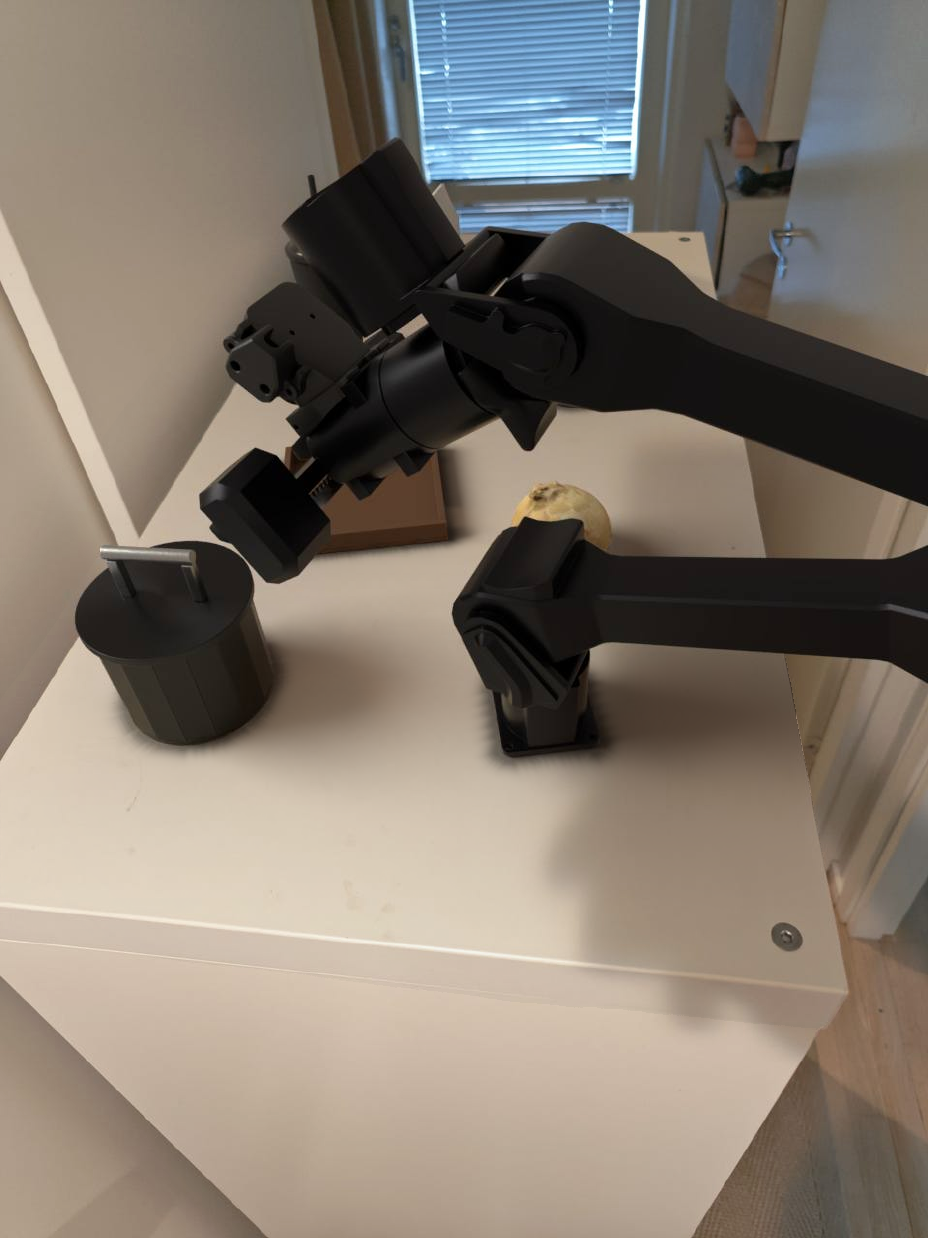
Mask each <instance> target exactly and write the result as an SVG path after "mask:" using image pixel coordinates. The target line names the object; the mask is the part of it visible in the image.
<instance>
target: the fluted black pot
mask: <svg viewBox="0 0 928 1238" xmlns="http://www.w3.org/2000/svg"><path fill="white" fill-rule="evenodd" d="M269 648H270V647H269V646H268V642H267V639H266V636H265V633H264V630H263V626H262V623H261V620H260V617H259V613H258V611H257V607H256V604H255V601H254V599H253V601H252V604H251V607H250V609H249V611H248V612H247V614H246V616H245V617H244V618H243V620H242V621H241V622H240V624H239V625H238V626H237V627H236V628H235V629H234V630H233V631H232V632H231V633H230V634H228V635H227V636H226V637H225V638H224V639H222V640H221V641H219V642H218V643H216V644H215V645H213V646H211V647H210V648H208V649H206V650H204V651H202V652H200V653H198V654H196V655H193V656H191V657H188V658H185V659H182V660H179V661H176V662H172V663H168V664H162V665H156V666H144V667H139V666H125V665H119V664H115V663H111V662H108V661H106V660H103V659H101V658H99V660H100V662H101V664H102V666H103V667H104V669H105V672H106V673H107V675H108V677H109V679H110V681H111V683H112V685H113V687H114V688H115V691H116V693H117V694H118V697H119V698H120V700H121V702H122V704H123V706H124V708H125V710H126V712H127V713H128V715H129V716H130V718H131V720H132V722H133V723H134V725H135V727H136V728H137V729H138V730H139V731H140V732H141V733H142V734H143V735H145V736H147V737H148V738H149V739H152V740H154V741H157V742H159V743H163V744H167V745H173V746H192V745H193V746H194V745H199V744H205V743H208V742H213V741H216V740H218V739H221V738H223V737H225V736H226V737H227V736H228V735H230V734H233V733H234V732H235V731H237V730H239V729H240V728H242V727H243V726H245V725H246V724H248V723H249V722H250V721H251V720H252V719H253V718H254V717H255V716H257V714H259V712H260V711H261V710H262V709H263V707H264V706H265V705H266V703H267V702H268V700H269V697H270V695H271V693H272V691H273V688H274V683H275V670H274V666H273V660H272V655H271V652H270V649H269Z"/></svg>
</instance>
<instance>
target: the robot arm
mask: <svg viewBox="0 0 928 1238" xmlns="http://www.w3.org/2000/svg"><path fill="white" fill-rule="evenodd" d="M432 194H433V192H432V191H431V190H430V188H429V187H428V185H427V183H426V182H425V180H424V178H423V176H422V174H421V171H420V168H419V166H418V163H417V162H416V160H415V158H414V156H413V155H412V153H411V152H410V150H409V149H408V147H407V145H406V143H405V142H404V141H403V140H402V138H400V137H396V136H394V137H392V138H391V139H390V140H388V141H386V142H385V143H383V144H382V145H381V146H379V147H377V148H375V149H374V150H373V151H372V152H371V153H369V155H368V156H367V157H365V158H364V159H363V160H362V161H361V162H360V163H358V164H357V165H356V166H354V167H353V168H352V169H351V170H349V171H348V172H347V173H345V174H344V175H343V176H341V177H339V178H338V179H337V180H335V181H333V182H332V183H330V184H328V185H327V186H326V187H324V188H322V189H321V190H319V191H317V193H316V194H315V195H313V196H312V197H311V196H310V197H309V198H307V199H306V200H305V201H304V202H302V203H301V204H300V205H299V206H298V207H297V208H296V209H294V211H293V212H292V213H291V214H290V215H289V216H287V218H286V219H285V220H284V221H283V222H282V224H281V225H280V227H281V229H282V230H283V231H284V233H285V234H286V235H287V237H288V238H289V240H291V241H292V242H293V243H294V245H295V246H296V248H297V249H298V250H299V252H300V253H301V254H302V256H303V257H304V258H305V260H306V261H307V263H308V264H309V265H310V267H311V268H312V269H313V271H314V272H315V273H316V275H317V276H318V278H319V279H320V280H321V282H322V283H323V284H324V286H325V287H326V288H327V290H328V291H329V293H330V294H331V295H332V297H333V298H334V299H335V301H336V302H337V303H338V305H339V306H340V308H341V309H342V310H343V312H344V313H345V314H346V316H347V317H348V319H349V320H350V321H351V323H352V324H353V325H354V327H355V328H356V329H357V330H359V332H360V333H361V334H362V336H363V339H365V340H363V341H362V340H361V339H360V338H359V337H358V336H357V335H356V334H355V333H354V331H353V329H352V328H351V326H350V325H349V324H348V323H347V322H346V321H344V320H343V319H342V318H341V317H339V316H338V315H337V314H336V313H335V312H333V311H332V310H331V309H330V308H328V307H327V306H326V305H325V304H323V303H322V302H321V301H320V300H319V299H317V298H316V297H315V296H314V295H312V294H311V293H310V292H309V291H307V290H306V289H305V288H304V287H302V286H300V285H299V284H296V282H292V281H283V282H280V283H279V284H277V286H275V287H274V288H272V289H271V290H270V291H268V292H267V293H266V294H264V295H263V296H262V297H260V298H259V299H258V300H255V302H253V303H252V304H250V305H249V306H248V307H247V309H246V311H245V313H244V317H243V319H242V321H241V322H240V323H239V324H237V325H236V329H235V331H233V332H231V333H230V334H229V335H228V336H226V337H225V338H224V339H223V341H222V345H223V348H224V350H225V351H226V352H227V353H228V357H227V358H226V359H227V360H226V362H225V371H226V372H227V373H228V377H229V378H230V380H232V381H234V382H235V383H236V384H237V385H238V386H240V387H241V388H243V389H244V390H245V391H246V392H248V393H249V394H250V395H251V396H253V397H254V398H255V399H257V400H258V401H259V402H261V403H263V404H264V403H265V404H271V403H272V402H273V401H274V400H275V399H277V398H280V399H282V400H283V401H284V402H287V403H288V404H290V405H293V406H298V407H297V408H295V409H294V410H293V411H292V412H291V413H290V414H288V415H287V417H285V419H284V420H285V421H286V422H287V423H288V424H289V425H290V427H292V429H293V430H294V432H296V435H298V436H299V437H298V438H297V439H296V440H295V442H294V443H293V444H292V445H291V446H290V447H291V450H292V451H293V453H294V454H295V455H296V456H297V457H298V459H300V460H308V461H307V462H306V463H305V464H304V465H303V466H302V467H301V468H300V469H299V470H298V471H297V472H296V473H295V475H293V474H292V473H291V472H290V471H289V469H288V468H287V467H286V466H285V465H284V461H283V460H282V459H281V458H280V457H279V456H278V455H277V454H275V453H273V452H269V451H266V450H264V449H261V448H259V447H254V448H251V449H250V450H249V451H247V452H245V454H243V455H241V456H240V457H239V458H238V459H237V460H236V461H234V462H233V463H232V464H230V465H229V466H228V467H226V469H224V471H223V472H221V473H220V474H219V475H218V476H217V477H216V478H215V479H214V480H213V481H212V482H211V483H209V484H208V486H206V487H205V488H204V489H202V491H201V492H200V493H198V501H199V510H200V511H201V512H202V513H203V514H204V516H206V518H207V519H208V520H209V521H210V522H211V524H210V525H209V528H208V529H209V530H210V532H211V533H212V534H213V535H214V536H215V537H216V538H217V540H218V541H220V542H223V543H226V544H229V545H232V546H233V548H234V549H235V550H236V551H237V552H238V554H239V555H240V556H241V557H242V558H243V559H244V560H245V561H246V563H247V564H248V565H250V566H251V568H252V569H253V570H254V571H255V572H256V573H257V575H259V577H261V579H262V580H263V581H264V582H265V583H266V584H272V585H273V584H274V585H280V584H283V583H286V582H287V581H290V580H292V579H294V578H297V577H299V576H300V575H301V574H302V572H304V570H305V569H306V568H307V566H308V565H310V563H311V562H312V561H313V560H314V558H315V557H316V556H317V555H318V552H319V551H320V550H321V549H322V548H323V547H324V545H325V544H326V543H327V542H328V541H329V540H330V538H331V520H330V519H329V518H328V516H327V515H326V514H325V513H324V512H323V510H322V509H323V507H324V506H325V505H326V504H327V503H328V502H329V501H330V500H331V499H332V497H333V496H334V495H335V494H336V493H337V492H338V491H339V490H340V489H341V487H342V486H343V485H344V484H346V485H347V486H348V487H349V489H350V490H351V491H352V492H353V494H354V495H355V496H356V497H357V499H358V500H359V501H360V500H362V499H364V498H366V497H368V496H370V495H371V494H372V493H373V492H374V491H375V490H376V488H377V487H378V486H379V485H380V484H381V483H382V481H383V480H384V479H385V478H386V477H387V476H388V475H390V474H392V473H394V472H396V471H398V470H400V469H402V471H403V472H404V473H405V475H406V476H407V477H409V476H411V475H413V474H415V473H417V472H419V471H421V469H422V468H423V467H424V466H425V464H426V463H427V462H428V461H429V459H430V458H431V457H432V456H433V454H434V453H435V452H436V451H437V452H438V451H439V450H442V449H443V448H445V447H447V446H448V445H450V444H452V443H454V442H456V441H458V440H460V439H463V438H464V437H466V436H468V435H470V434H472V433H474V432H476V431H478V430H481V428H482V429H483V428H484V427H487V426H488V425H490V424H492V423H494V422H496V421H498V420H501V421H502V422H503V424H504V425H505V427H506V428H507V430H508V432H510V434H511V436H512V437H513V438H514V440H515V441H516V443H517V444H518V446H519V447H520V448H521V449H522V450H523V451H524V452H532V451H534V449H535V448H536V447H537V445H538V444H539V442H540V441H541V440H542V437H543V436H544V435H545V433H546V432H547V430H548V429H549V428H550V426H551V424H552V423H553V421H554V420H555V418H556V417H557V416H558V415H557V414H558V405H557V403H559V404H563V405H568V406H573V407H572V408H578V409H581V410H582V409H583V410H588V411H592V412H597V413H602V414H603V413H607V414H608V413H621V412H634V411H646V410H647V411H648V410H654V411H661V412H666V413H670V414H676V415H681V416H684V417H687V418H689V419H693V420H694V421H695V420H696V421H697V422H700V423H703V424H705V425H708V426H710V427H713V428H716V429H719V430H721V431H724V432H727V433H730V434H732V435H735V436H738V437H740V438H743V439H745V440H748V441H751V442H754V443H756V444H759V445H762V446H765V447H767V448H770V449H772V450H775V451H777V452H781V453H782V454H783V453H784V454H785V455H788V456H791V457H793V458H797V459H799V460H802V461H805V462H807V463H810V464H813V465H815V466H818V467H821V468H823V469H826V470H829V471H831V472H834V473H837V474H839V475H842V476H845V477H848V478H850V479H853V480H855V481H858V482H860V483H864V484H866V485H869V486H871V487H875V488H876V489H879V490H882V491H885V492H888V493H890V494H893V495H896V496H898V497H901V498H904V499H906V500H909V501H912V502H914V503H917V504H920V505H923V506H925V507H928V375H926V374H923V373H920V372H917V371H914V370H912V369H909V368H907V367H904V366H900V365H897V364H895V363H892V362H888V361H885V360H882V359H880V358H878V357H874V356H871V355H869V354H865V353H862V352H860V351H857V350H854V349H851V348H848V347H845V346H843V345H840V344H837V343H834V342H831V341H829V340H825V339H822V338H819V337H817V336H813V335H811V334H809V333H806V332H802V331H800V330H796V329H794V328H790V327H788V326H785V325H782V324H779V323H776V322H773V321H770V320H767V319H766V318H765V319H764V318H762V317H759V316H757V315H756V316H755V315H753V314H750V313H748V312H745V311H742V310H738V309H736V308H733V307H730V306H729V305H726V304H724V303H723V302H721V301H719V300H717V299H715V298H713V297H712V296H710V295H708V294H707V293H705V292H704V291H702V290H701V288H700V287H698V286H697V285H696V284H695V283H694V282H693V281H692V280H691V279H690V278H689V277H688V276H687V275H686V274H685V273H684V272H683V271H682V270H681V269H680V268H679V267H678V266H677V265H675V263H673V262H672V261H671V260H670V259H668V258H666V257H665V256H664V255H661V254H659V253H658V252H656V251H654V250H652V249H650V248H649V247H647V246H645V245H643V244H642V243H640V242H637V241H636V240H634V239H632V238H631V237H629V236H627V235H625V234H623V233H621V232H620V231H618V230H616V229H614V228H612V227H610V226H607V225H606V224H602V223H597V222H589V221H577V222H576V221H575V222H571V223H569V224H567V225H566V226H563V227H561V228H560V229H558V230H556V231H554V232H552V233H546V232H539V231H532V230H523V229H517V228H516V229H515V228H508V227H500V226H493V225H487V226H485V227H484V228H483V229H481V230H480V231H479V232H478V233H477V234H476V235H475V236H474V237H473V238H472V239H470V240H469V241H468V242H466V243H465V242H464V241H463V240H462V238H461V235H460V236H459V235H458V233H457V232H456V230H455V229H454V227H453V226H452V224H451V223H450V221H449V219H448V218H447V216H446V215H445V213H444V212H443V210H442V209H441V207H440V206H439V204H438V202H437V201H436V199H435V198H434V196H433V195H432ZM496 290H497V291H496ZM495 291H496V292H495ZM493 293H494V294H493ZM420 315H422V317H423V318H424V319H425V321H426V322H427V323H426V324H424V325H423V326H421V327H420V328H418V329H417V330H415V331H413V332H412V333H410V334H409V335H407V336H406V337H405V335H404V334H403V333H402V332H399V330H400V329H402V328H403V327H405V326H407V325H408V324H409V323H411V322H412V321H413V320H415V319H416V318H417V317H419V316H420ZM366 338H367V339H366ZM326 475H327V476H326ZM325 476H326V478H325V479H323V478H324V477H325ZM322 479H323V480H322ZM321 480H322V481H323V482H321V483H319V482H320V481H321ZM318 483H319V486H317V485H318ZM316 486H317V487H316ZM315 487H316V488H315ZM314 488H315V490H314V491H312V490H313V489H314ZM311 491H312V492H311ZM310 492H311V493H312V494H310V495H309V493H310ZM451 618H452V621H453V625H454V627H455V629H456V630H457V632H458V634H459V636H460V638H461V640H462V643H463V645H464V647H465V649H466V651H467V652H468V655H469V657H470V659H471V661H472V663H473V665H474V667H475V669H476V671H477V673H478V675H479V678H480V679H481V681H482V683H483V685H484V687H485V689H487V690H489V691H491V694H492V700H493V706H494V712H495V717H496V723H497V731H498V737H499V742H500V749H501V753H502V754H503V755H504V756H506V757H515V756H524V755H525V756H526V755H532V754H533V755H534V754H541V753H542V754H543V753H549V752H550V753H551V752H552V753H553V752H560V751H569V750H578V749H586V748H587V749H588V748H593V747H597V746H598V745H599V744H600V741H601V740H600V739H601V737H600V736H601V735H600V731H599V729H598V728H599V727H598V725H597V721H596V717H595V714H594V710H593V705H592V703H591V702H592V701H591V698H590V695H589V692H588V691H589V690H588V689H589V678H590V677H589V676H590V665H591V664H590V663H591V649H593V648H596V647H598V646H601V645H604V644H612V643H616V644H631V645H647V646H661V647H662V646H663V647H675V648H678V647H679V648H689V649H690V648H693V649H704V650H705V649H708V650H719V651H721V650H722V651H737V652H739V651H740V652H752V653H764V654H765V653H767V654H780V655H781V654H783V655H796V656H797V655H798V656H810V657H824V658H825V657H826V658H841V659H856V660H857V659H858V660H873V661H880V662H887V663H889V664H892V665H894V666H895V667H898V668H899V669H900V670H902V671H904V672H906V673H908V674H910V675H912V676H913V677H915V678H917V679H918V680H920V681H922V682H924V683H926V684H928V544H926V545H924V546H922V547H919V548H917V549H914V550H911V551H910V552H907V553H904V554H903V555H900V556H896V557H891V558H827V557H826V558H824V557H823V558H819V557H816V558H815V557H813V558H812V557H746V556H744V557H743V556H742V557H740V556H739V557H734V556H666V555H665V556H664V555H663V556H659V555H658V556H657V555H656V556H655V555H617V554H611V553H609V552H608V551H607V550H606V551H605V550H603V549H601V548H600V547H598V546H596V545H595V544H593V543H592V542H590V541H588V540H587V539H585V532H584V522H583V521H582V520H579V519H575V518H569V519H564V520H558V521H541V520H536V519H533V518H530V517H527V516H524V517H523V518H522V520H521V522H520V523H519V525H518V526H514V527H511V526H509V527H507V528H505V529H502V531H501V532H500V533H499V534H498V535H497V536H496V537H495V539H494V540H493V542H492V543H491V544H490V546H489V547H488V549H487V550H486V552H485V554H484V555H483V556H482V558H481V560H480V562H479V563H478V565H477V566H476V568H475V569H474V570H473V572H472V574H471V575H470V577H469V579H468V580H467V582H466V583H465V585H464V586H463V588H462V590H461V591H460V592H459V594H458V596H457V597H456V599H455V601H454V602H453V603H452V609H451ZM591 738H592V739H591ZM508 748H510V749H508Z"/></svg>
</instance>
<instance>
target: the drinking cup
mask: <svg viewBox="0 0 928 1238" xmlns="http://www.w3.org/2000/svg"><path fill="white" fill-rule="evenodd" d="M307 183H308V189H309V195H310V197H312V196H313V195H315V194H316V193H318V188H317V183H316V177H315V175H314V174H308V175H307ZM283 249H284V255H285V257H286V258H287V259H288V260H289V264H290V267H291V271H292V273H293V278H294V280H295V283H296V284H299V285H300V286H302V287H304V288H305V289H306V290H307V291H309V292H310V293H311V294H312V295H314V296H315V297H316V298H317V299H319V300H320V301H321V302H322V303H323V304H325V305H326V306H327V307H328V308H330V309H331V310H332V311H333V312H335V313H336V314H337V315H338V316H339V317H341V318H342V319H343V320H344V321H346V322H347V323H348V324H349V325H350V326H351V328H352V329H353V331H354V333H355V334H356V335H357V336H358V337H359V338H360V339H361V340H362V341H363V342H364V337H363V336H362V334H361V333H360V332H359V330H357V329H356V328H355V327H354V325H353V324H352V323H351V321H350V320H349V319H348V317H347V316H346V314H345V313H344V312H343V310H342V309H341V308H340V306H339V305H338V303H337V302H336V301H335V299H334V298H333V297H332V295H331V294H330V293H329V291H328V290H327V288H326V287H325V286H324V284H323V283H322V282H321V280H320V279H319V278H318V276H317V275H316V273H315V272H314V271H313V269H312V268H311V267H310V265H309V264H308V263H307V261H306V260H305V258H304V257H303V256H302V254H301V253H300V252H299V250H298V249H297V248H296V246H295V245H294V243H293V242H292V241H291V239H289V241H288V242H287V243H286V244H285V245H284V248H283Z"/></svg>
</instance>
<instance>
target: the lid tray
mask: <svg viewBox="0 0 928 1238" xmlns="http://www.w3.org/2000/svg"><path fill="white" fill-rule="evenodd" d="M438 457H439V456H438V450H437V451H436V452H435V453H434V454H433V456H432V457H431V458H430V459H429V461H428V462H427V463H426V464H425V466H424V467H423V468H422V469H421V471H419V472H417V473H415V474H413V475H411V476H409V477H407V476H406V475H405V473H404V472H403V471H402V469H400V470H398V471H396V472H394V473H392V474H390V475H388V476H387V477H386V478H385V479H384V480H383V481H382V483H381V484H380V485H379V486H378V487H377V488H376V490H375V491H374V492H373V493H372V494H371V495H370V496H368V497H366V498H364V499H362V500H360V501H359V500H358V499H357V497H356V496H355V495H354V494H353V492H352V491H351V490H350V489H349V487H348V486H347V485H346V484H344V485H343V486H342V487H341V489H340V490H339V491H338V492H337V493H336V494H335V495H334V496H333V497H332V499H331V500H330V501H329V502H328V503H327V504H326V505H325V506H324V507H323V509H322V510H323V512H324V513H325V514H326V515H327V516H328V518H329V519H330V520H331V538H330V540H329V541H328V542H327V543H326V544H325V545H324V547H323V548H322V549H321V550H320V551H319V552H318V554H329V553H337V552H339V553H340V552H348V551H358V550H368V549H375V548H376V549H378V548H386V547H394V546H395V547H397V546H404V545H414V544H425V543H433V542H443V541H444V542H445V541H448V540H449V537H448V535H449V534H448V524H447V516H446V509H445V501H444V495H443V488H442V487H443V486H442V479H441V472H440V471H441V470H440V466H439V458H438ZM283 460H284V461H283V463H284V465H285V466H286V467H287V468H288V469H289V471H290V472H291V473H292V474H293V475H295V473H296V472H297V471H298V470H299V469H300V468H301V467H302V466H303V465H304V464H305V463H306V462H307V461H308V460H300V459H298V457H297V456H296V455H295V454H294V453H293V451H292V450H291V446H285V450H284V459H283ZM326 476H327V475H326ZM326 476H325V477H324V478H323V479H325V478H326ZM323 479H322V480H323ZM322 480H321V481H320V482H319V483H321V482H323V481H322ZM319 483H318V485H317V486H319ZM317 486H316V487H317ZM316 487H315V488H316ZM315 488H314V489H313V490H312V491H314V490H315ZM312 491H311V492H312ZM311 492H310V493H309V495H310V494H312V493H311ZM318 554H317V555H318Z"/></svg>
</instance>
